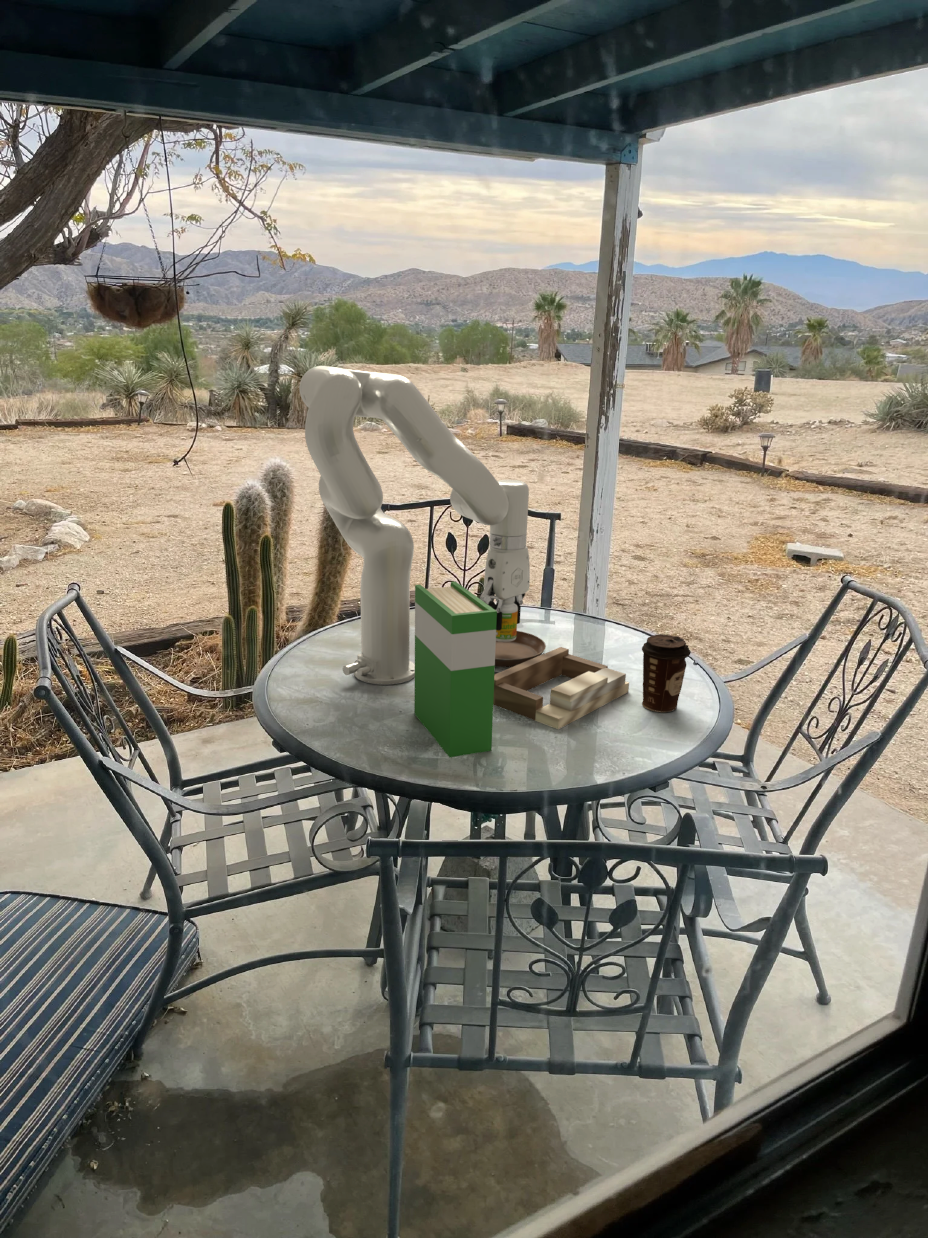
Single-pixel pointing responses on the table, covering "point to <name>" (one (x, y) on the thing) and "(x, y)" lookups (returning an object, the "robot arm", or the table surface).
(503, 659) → the plant saucer
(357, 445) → the robot arm
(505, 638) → the supplement bottle
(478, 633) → the hardback book
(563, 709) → the frame
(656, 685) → the coffee cup
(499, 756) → the table surface
